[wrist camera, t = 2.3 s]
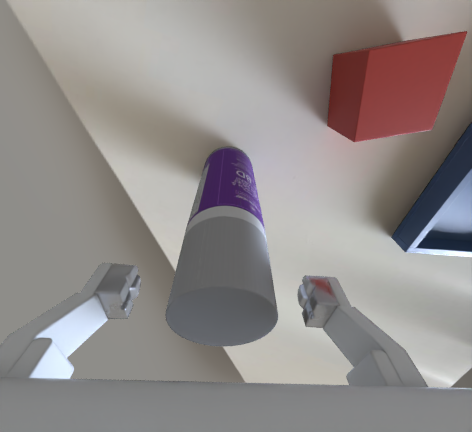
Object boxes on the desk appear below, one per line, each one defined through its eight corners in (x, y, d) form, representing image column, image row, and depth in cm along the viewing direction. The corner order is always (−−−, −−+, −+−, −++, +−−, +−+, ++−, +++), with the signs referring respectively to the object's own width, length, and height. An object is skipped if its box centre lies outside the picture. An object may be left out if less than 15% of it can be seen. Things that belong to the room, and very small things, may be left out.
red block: (333, 54, 15) (369, 49, 11) (404, 40, 15) (468, 30, 11) (327, 126, 18) (354, 142, 14) (386, 115, 18) (432, 130, 14)
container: (258, 153, 20) (302, 295, 7) (244, 195, 22) (258, 352, 10) (209, 140, 19) (167, 273, 7) (200, 185, 21) (158, 341, 9)
